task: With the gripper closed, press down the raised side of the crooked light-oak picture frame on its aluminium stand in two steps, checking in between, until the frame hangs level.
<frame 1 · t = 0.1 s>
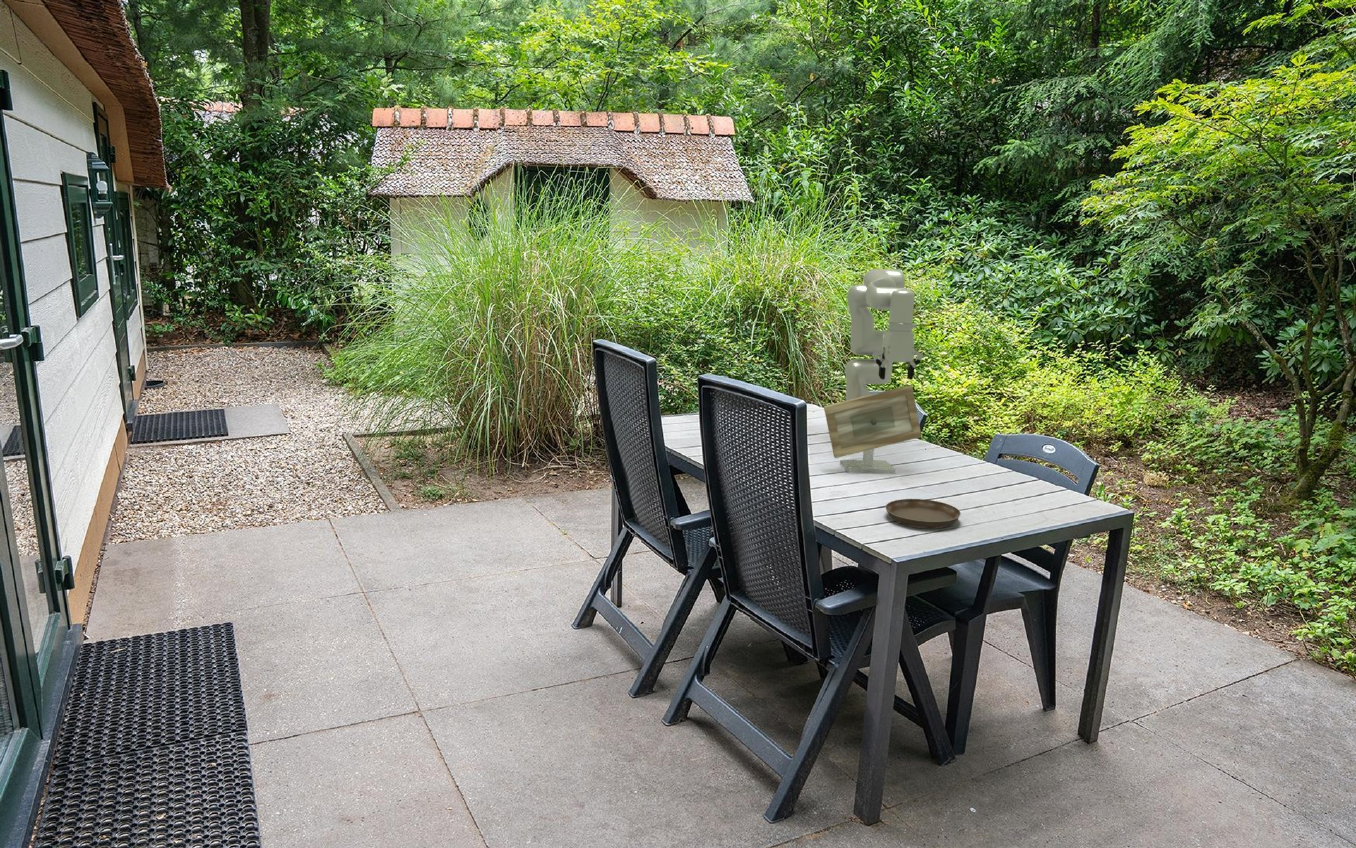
hand: (895, 378, 312), 31 cm above the table, tool pointing down, fingers open, 9 cm apart
picture frame: (873, 421, 313), point 17 cm above the table, hinge at 15.0°
frame stand: (869, 470, 317), on the table
plant saucer: (921, 520, 265), on the table
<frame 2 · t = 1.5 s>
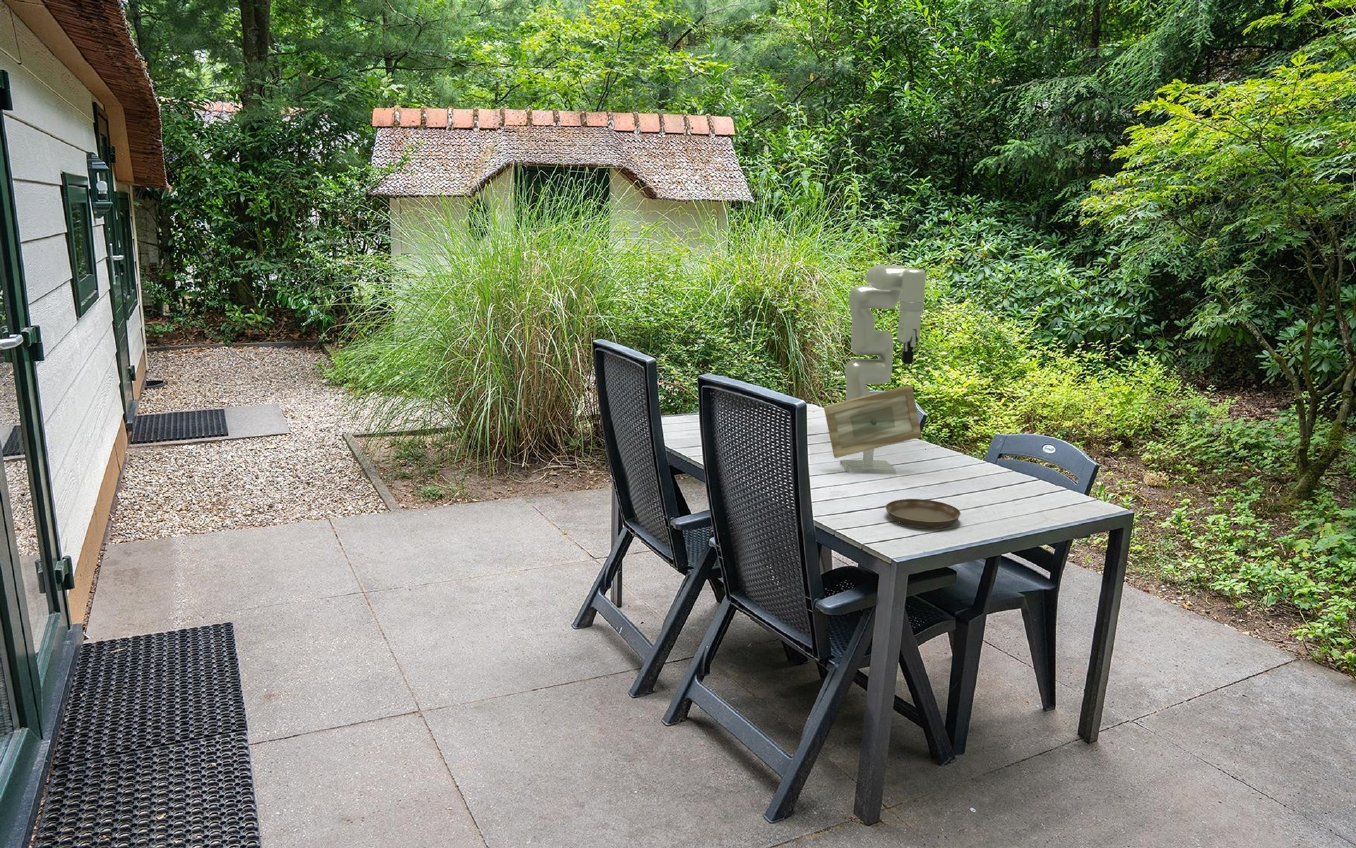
hand: (907, 362, 309), 37 cm above the table, tool pointing down, fingers closed
nothing on the table moved.
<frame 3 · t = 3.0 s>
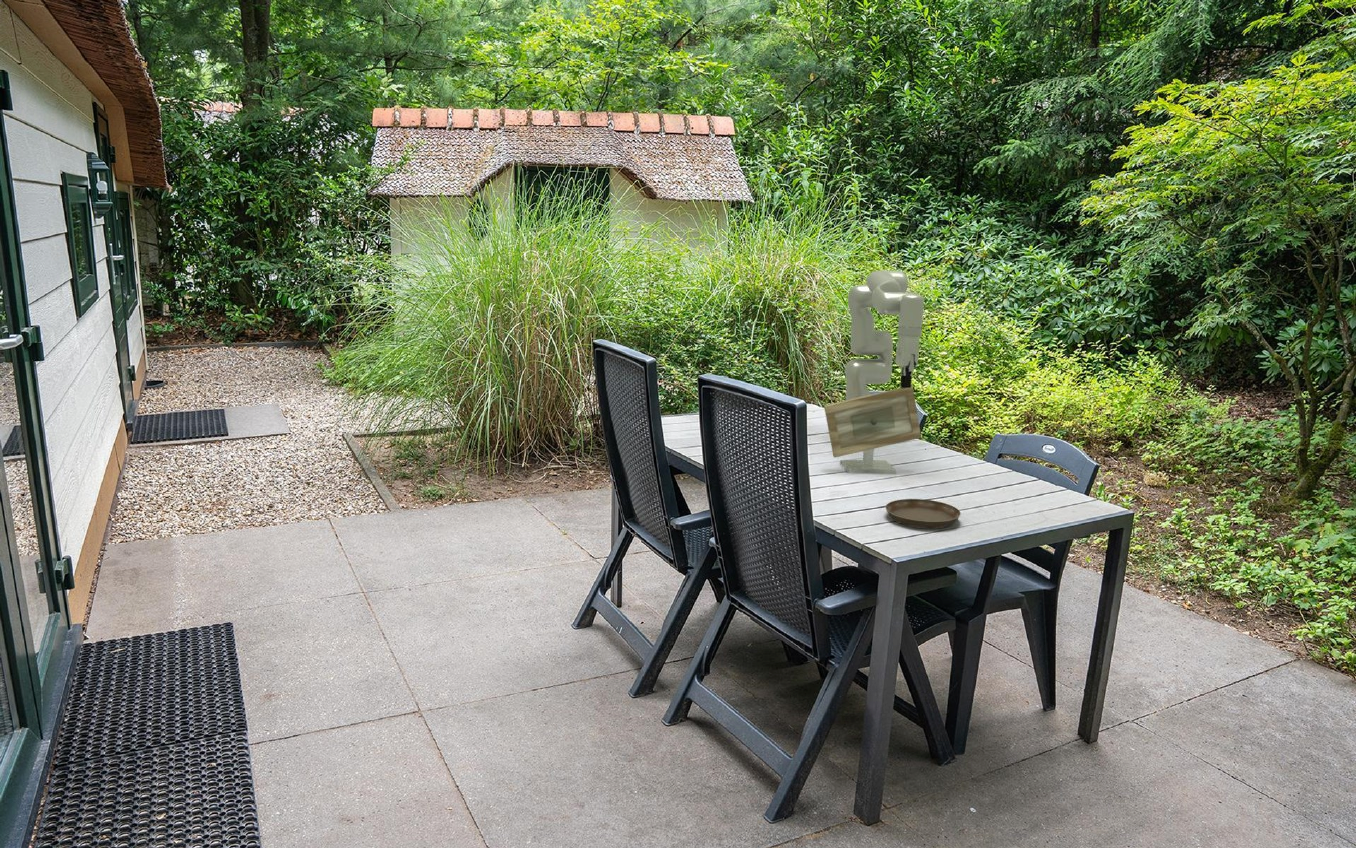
hand: (905, 387, 311), 29 cm above the table, tool pointing down, fingers closed
picture frame: (873, 421, 313), point 17 cm above the table, hinge at 14.0°, touching gripper
everything else where it was.
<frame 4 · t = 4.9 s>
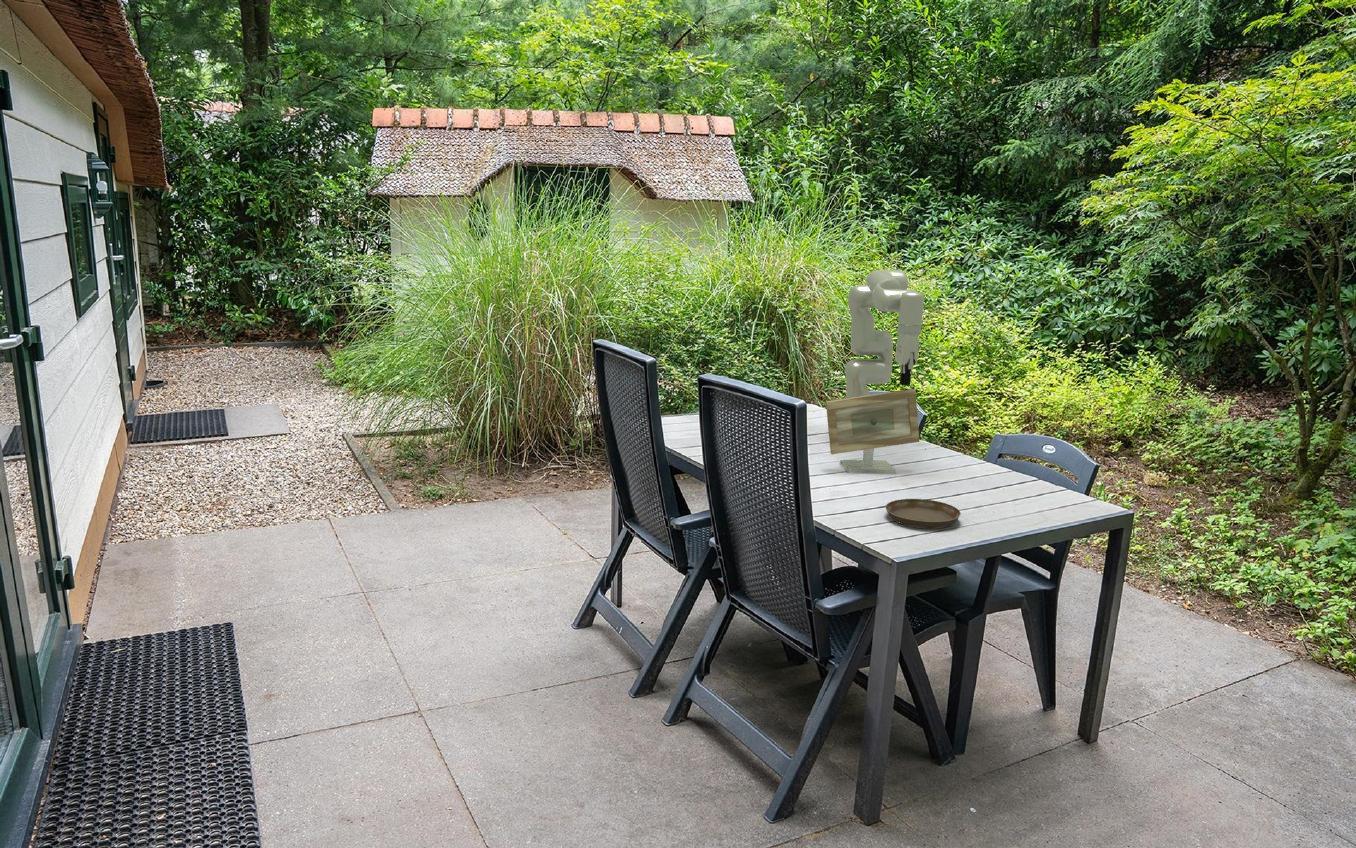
hand: (904, 384, 311), 30 cm above the table, tool pointing down, fingers closed
picture frame: (873, 421, 313), point 17 cm above the table, hinge at 9.1°
everything else where it was.
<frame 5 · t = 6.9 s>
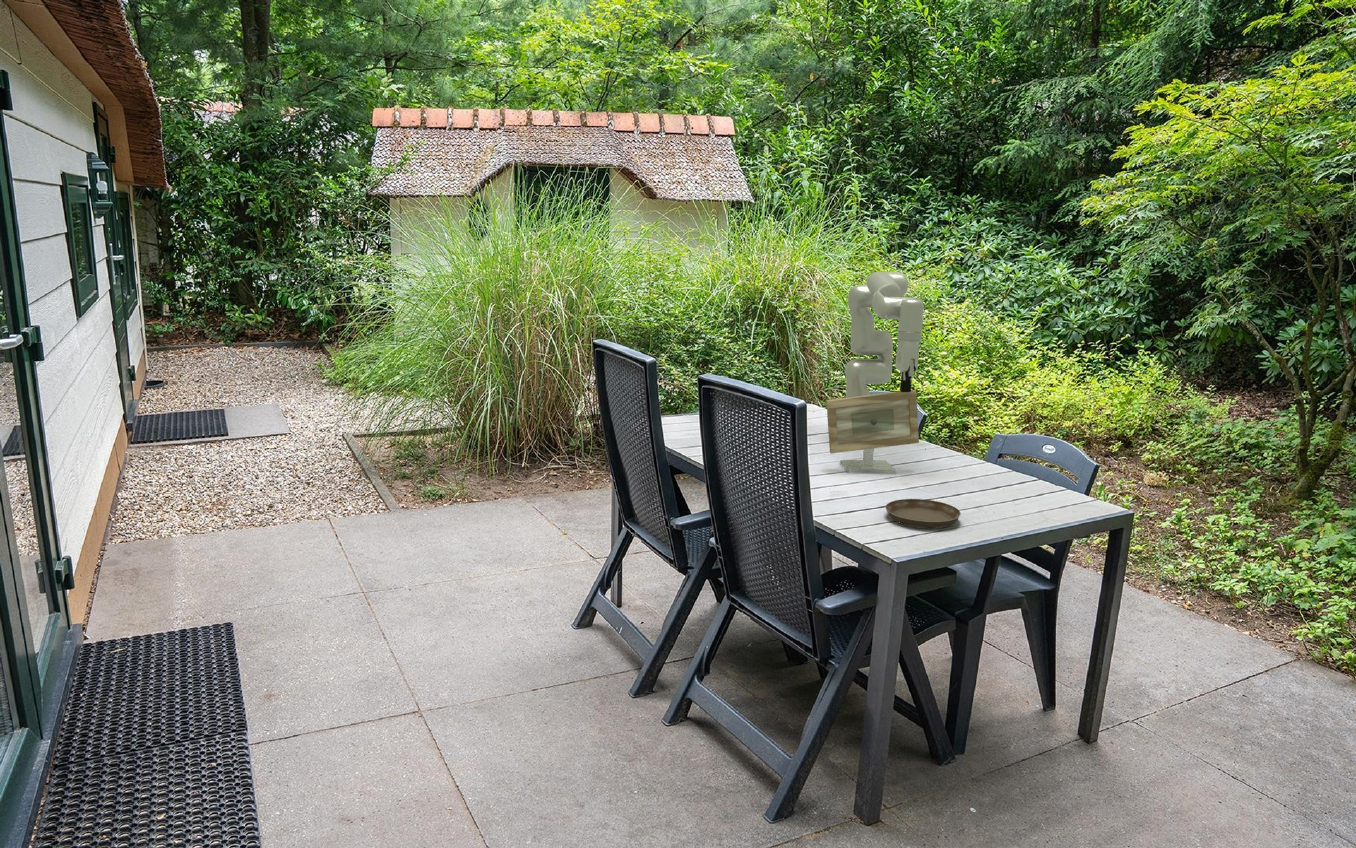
hand: (905, 391, 312), 27 cm above the table, tool pointing down, fingers closed
picture frame: (873, 421, 313), point 17 cm above the table, hinge at 7.7°, touching gripper
everything else where it was.
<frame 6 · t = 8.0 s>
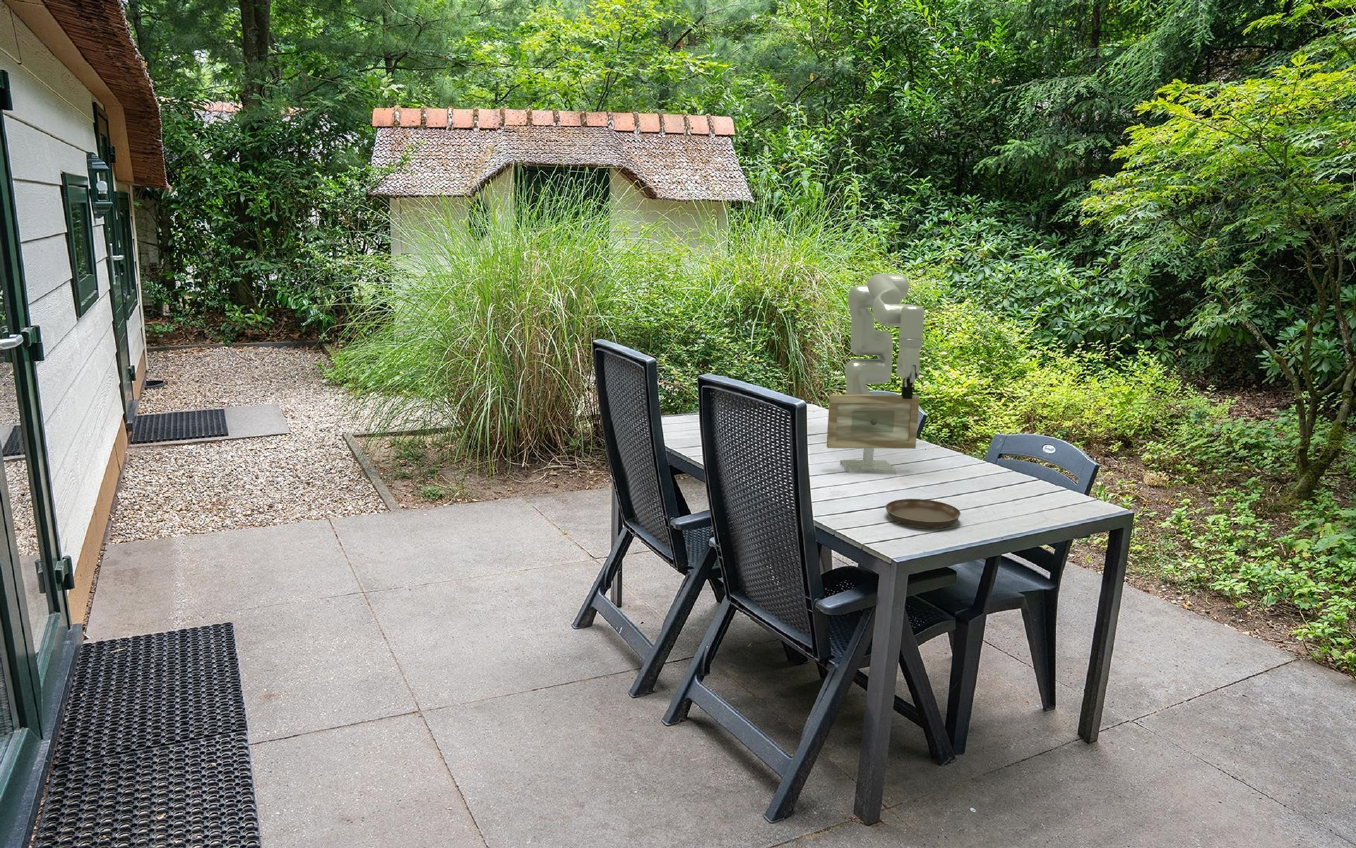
hand: (906, 398, 312), 25 cm above the table, tool pointing down, fingers closed
picture frame: (873, 421, 313), point 17 cm above the table, hinge at 0.5°, touching gripper
everything else where it was.
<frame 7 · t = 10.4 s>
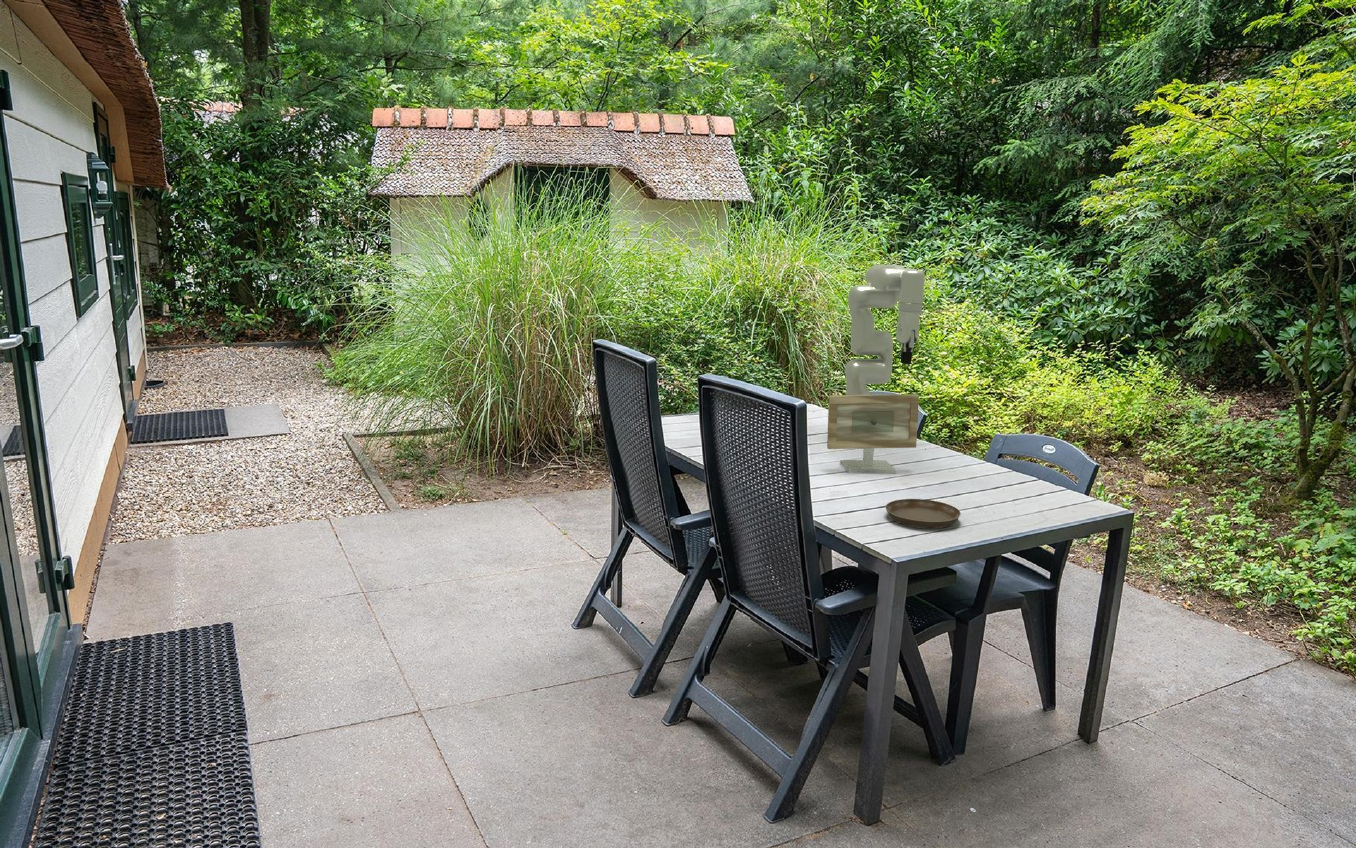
hand: (905, 363, 311), 37 cm above the table, tool pointing down, fingers closed
picture frame: (873, 421, 313), point 17 cm above the table, hinge at 1.8°
everything else where it was.
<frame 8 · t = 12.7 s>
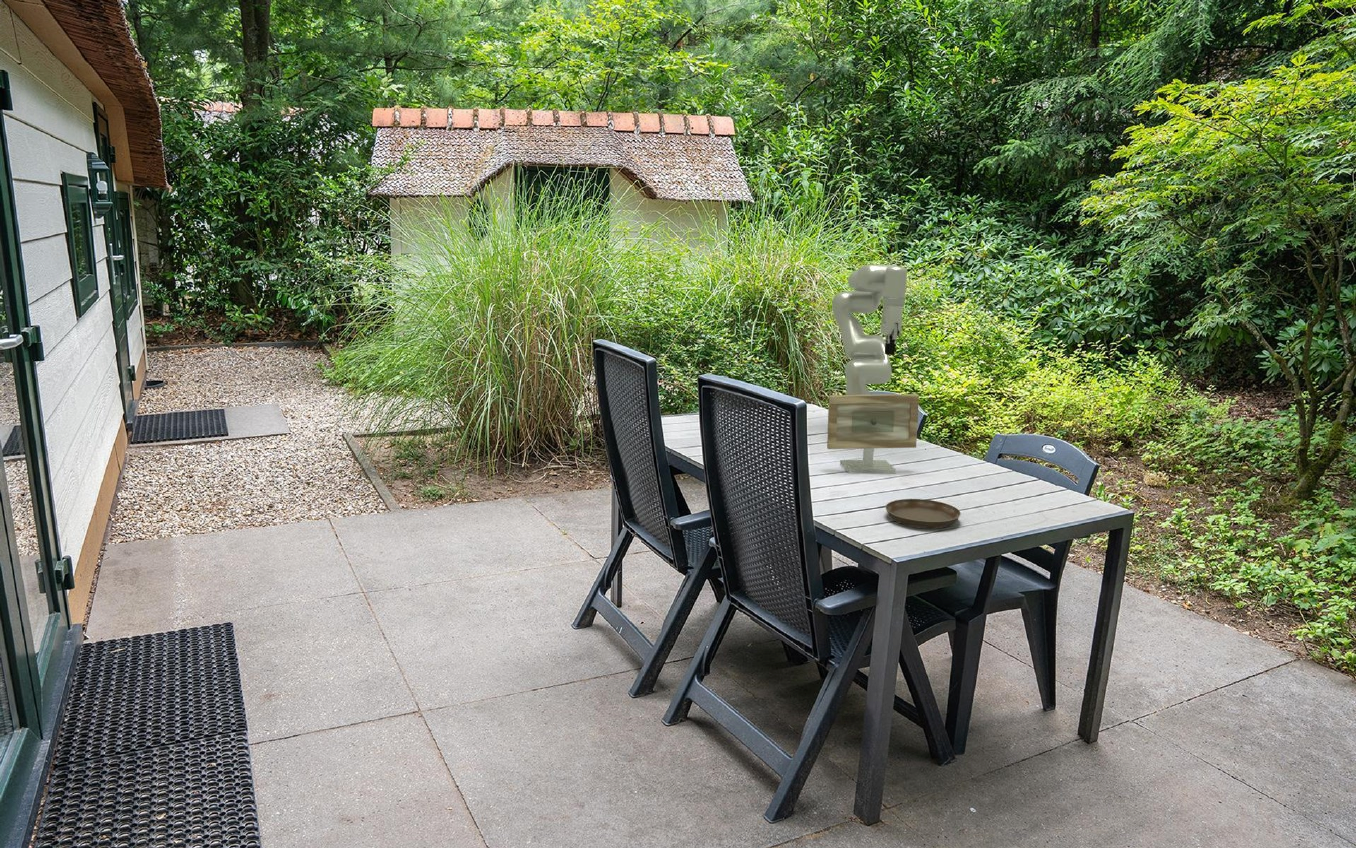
hand: (889, 354, 329), 37 cm above the table, tool pointing down, fingers closed
nothing on the table moved.
at the end: picture frame at +2° (first picture: +15°) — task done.
